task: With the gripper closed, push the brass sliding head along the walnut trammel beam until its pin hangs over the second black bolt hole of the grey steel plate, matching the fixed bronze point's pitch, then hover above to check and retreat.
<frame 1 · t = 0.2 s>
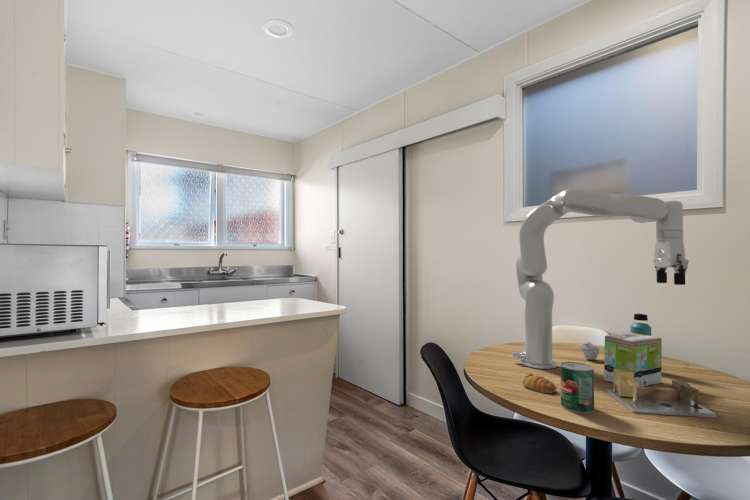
hand: (670, 283, 132), 31 cm above the table, tool pointing down, fingers open, 9 cm apart
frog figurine: (589, 360, 145), on the table
tea box: (632, 382, 119), on the table
bolt plate: (657, 404, 100), on the table
beverage bottle: (641, 370, 133), on the table
trammel beam: (651, 400, 103), resting on bolt plate
sliding head: (627, 384, 102), point 5 cm above the table, slide at 0.0 cm
pastry: (538, 389, 113), on the table
canned tomato: (577, 408, 98), on the table
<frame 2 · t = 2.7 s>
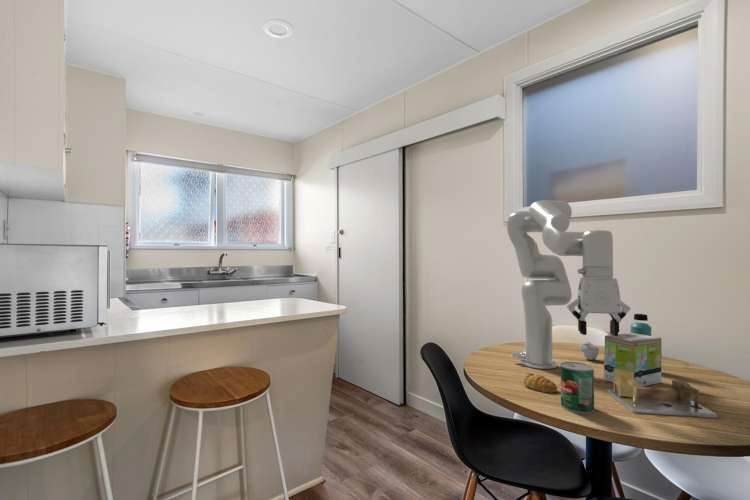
hand: (598, 334, 106), 18 cm above the table, tool pointing down, fingers open, 7 cm apart
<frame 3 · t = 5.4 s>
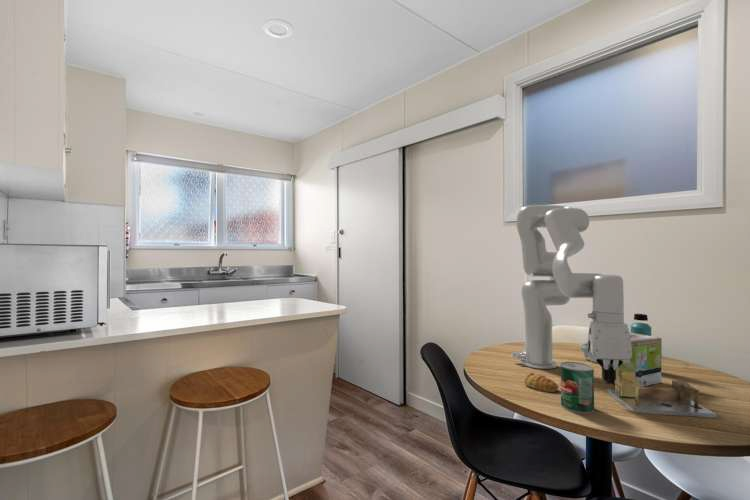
hand: (608, 382, 105), 4 cm above the table, tool pointing down, fingers closed
sliding head: (629, 384, 102), point 5 cm above the table, slide at 0.4 cm, touching gripper
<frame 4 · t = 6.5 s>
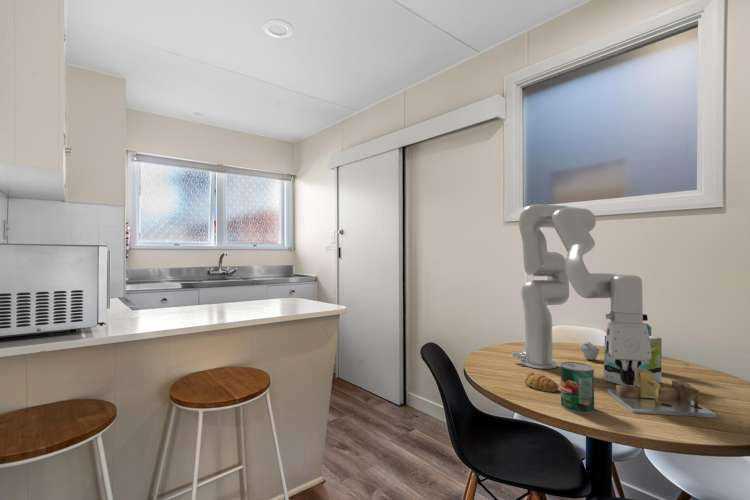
hand: (627, 383, 104), 4 cm above the table, tool pointing down, fingers closed
sliding head: (648, 385, 101), point 5 cm above the table, slide at 5.2 cm, touching gripper
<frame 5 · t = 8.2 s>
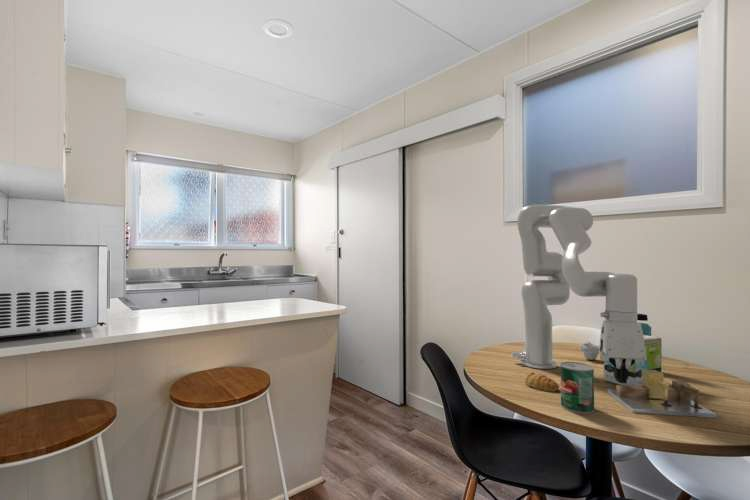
hand: (620, 381, 105), 5 cm above the table, tool pointing down, fingers closed
sliding head: (657, 386, 101), point 5 cm above the table, slide at 7.4 cm
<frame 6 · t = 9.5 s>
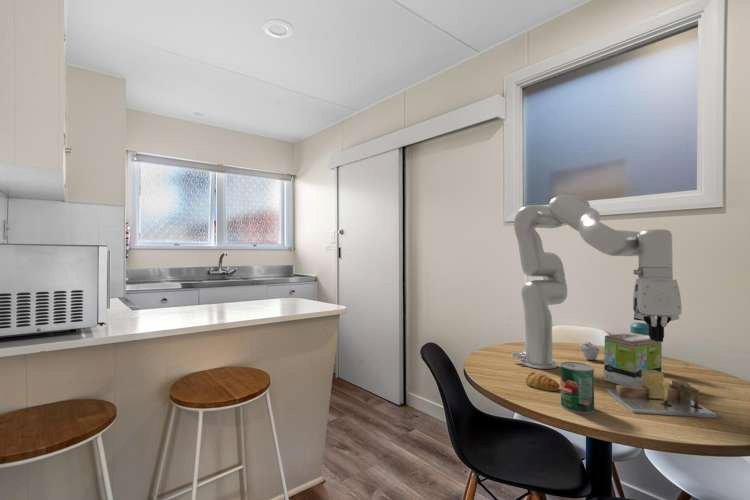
hand: (656, 340, 102), 17 cm above the table, tool pointing down, fingers closed
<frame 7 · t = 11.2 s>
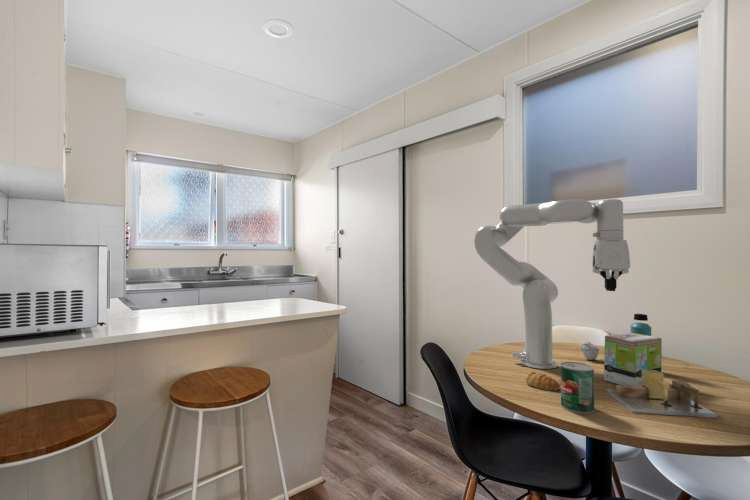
hand: (610, 290, 124), 29 cm above the table, tool pointing down, fingers closed
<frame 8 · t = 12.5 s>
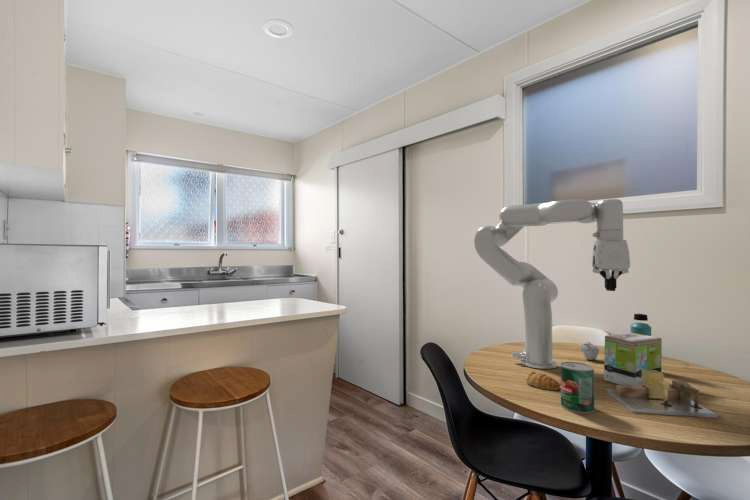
hand: (610, 290, 124), 29 cm above the table, tool pointing down, fingers closed
at the end: sliding head slide at 7.4 cm; sliding head touching nothing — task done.
